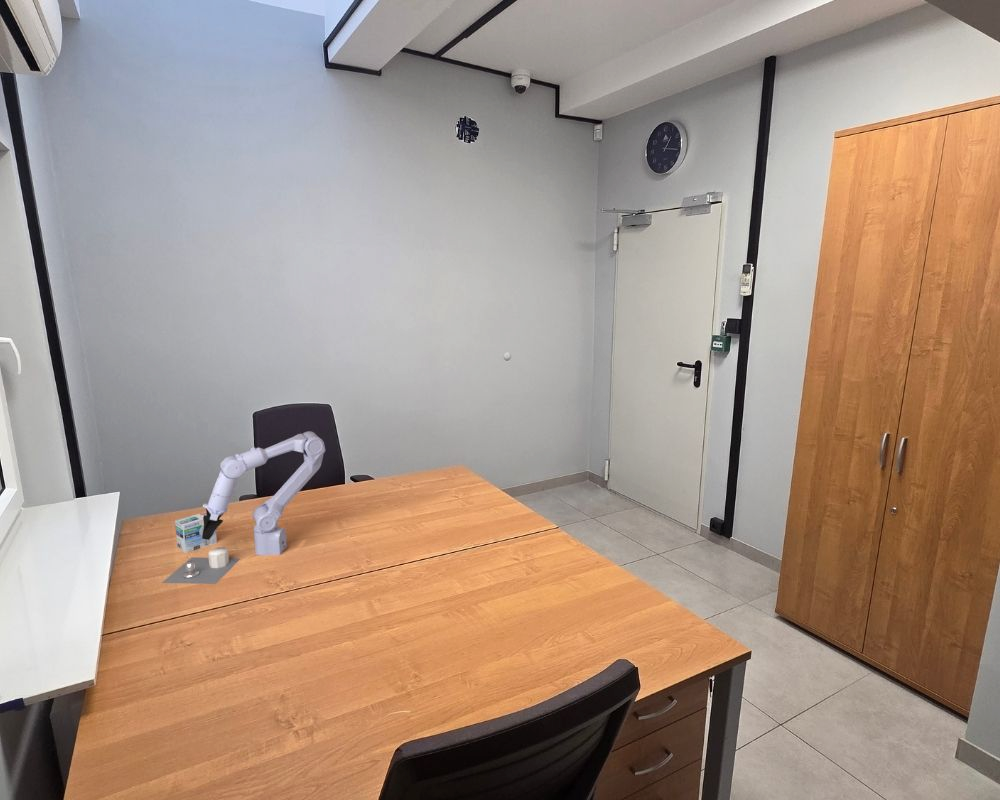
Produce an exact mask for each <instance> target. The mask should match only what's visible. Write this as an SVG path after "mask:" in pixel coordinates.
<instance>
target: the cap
mask: <svg viewBox="0 0 1000 800" xmlns="http://www.w3.org/2000/svg"><path fill="white" fill-rule="evenodd" d="M208 558H209V566H210V567H211V568H220V567H224V566H226V565H227V564H228V563H229V558H230V557H229V550H228V548H227V547H224V546H219V547H215V548H212V549H210V550H209V551H208Z"/></svg>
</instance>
